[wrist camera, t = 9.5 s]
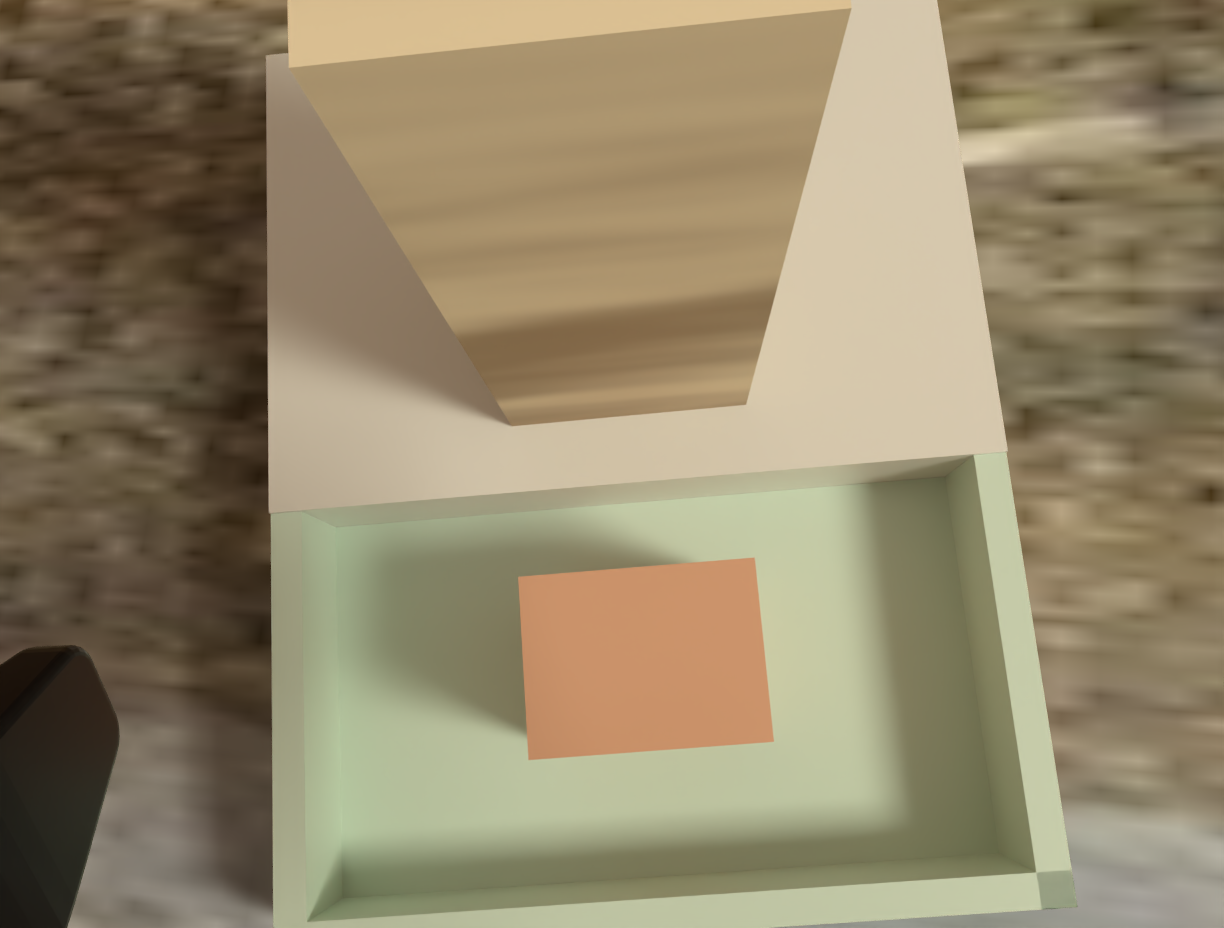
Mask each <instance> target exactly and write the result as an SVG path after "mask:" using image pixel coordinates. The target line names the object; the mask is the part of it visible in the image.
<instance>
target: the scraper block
mask: <svg viewBox="0 0 1224 928" xmlns="http://www.w3.org/2000/svg"><path fill="white" fill-rule="evenodd" d="M851 9H852V7H851V0H288V51H289V69H290V70H291V72H292V74H293V75H294V77H295V79H296V80H297V82H298V83H299V85H300V87H301V88H302V90H303V91H304V93H305V95H306V96H307V98H308V99H309V101H310V103H311V104H312V106H313V107H314V109H315V111H316V112H317V114H318V116H319V117H320V119H321V120H322V122H323V124H324V125H325V127H326V128H327V130H328V132H329V133H330V135H331V136H332V138H333V140H334V141H335V143H336V144H337V146H338V148H339V149H340V151H341V152H342V154H343V156H344V157H345V159H346V161H347V162H348V164H349V165H350V167H351V169H352V170H353V172H354V173H355V175H356V177H357V178H358V180H359V181H360V183H361V185H362V186H363V188H364V189H365V191H366V193H367V194H368V196H369V197H370V199H371V201H372V202H373V204H374V206H375V207H376V209H377V210H378V212H379V214H380V215H381V217H382V218H383V220H384V222H385V223H386V225H387V226H388V228H389V230H390V231H391V233H392V234H393V236H394V238H395V239H396V241H397V242H398V244H399V246H400V247H401V249H402V251H403V252H404V254H405V255H406V257H407V259H408V260H409V262H410V263H411V265H412V267H413V268H414V270H415V271H416V273H417V275H418V276H419V278H420V279H421V281H422V283H423V284H424V286H425V287H426V289H427V291H428V292H429V294H430V296H431V297H432V299H433V300H434V302H435V304H436V305H437V307H438V308H439V310H440V312H441V313H442V315H443V316H444V318H445V320H446V321H447V323H448V324H449V326H450V328H451V329H452V331H453V332H454V334H455V336H456V337H457V339H458V341H459V342H460V344H461V345H462V347H463V349H464V350H465V352H466V353H467V355H468V357H469V358H470V360H471V361H472V363H473V365H474V366H475V368H476V369H477V371H478V373H479V374H480V376H481V377H482V379H483V381H484V382H485V384H486V386H487V387H488V389H489V390H490V392H491V394H492V395H493V397H494V398H495V400H496V402H497V403H498V405H499V406H500V408H501V410H502V411H503V413H504V414H505V416H506V418H507V419H508V421H509V422H510V424H511V426H521V425H532V424H543V423H554V422H565V421H576V420H586V419H597V418H608V417H619V416H630V415H641V414H652V413H662V412H673V411H684V410H695V409H706V408H717V407H728V406H738V405H746V403H747V399H748V396H749V392H750V388H751V384H752V381H753V377H754V373H755V369H756V366H757V362H758V358H759V354H760V351H761V347H762V343H763V339H764V335H765V332H766V328H767V324H768V320H769V317H770V313H771V309H772V305H773V302H774V298H775V294H776V290H777V287H778V283H779V279H780V275H781V272H782V268H783V264H784V260H785V257H786V253H787V249H788V245H789V242H790V238H791V234H792V230H793V227H794V223H795V219H796V215H797V212H798V208H799V204H800V200H801V197H802V193H803V189H804V185H805V182H806V178H807V174H808V170H809V167H810V163H811V159H812V155H813V152H814V148H815V144H816V140H817V136H818V133H819V129H820V125H821V121H822V118H823V114H824V110H825V106H826V103H827V99H828V95H829V91H830V88H831V84H832V80H833V76H834V73H835V69H836V65H837V61H838V58H839V54H840V50H841V46H842V43H843V39H844V35H845V31H846V28H847V24H848V20H849V16H850V13H851Z"/></svg>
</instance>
